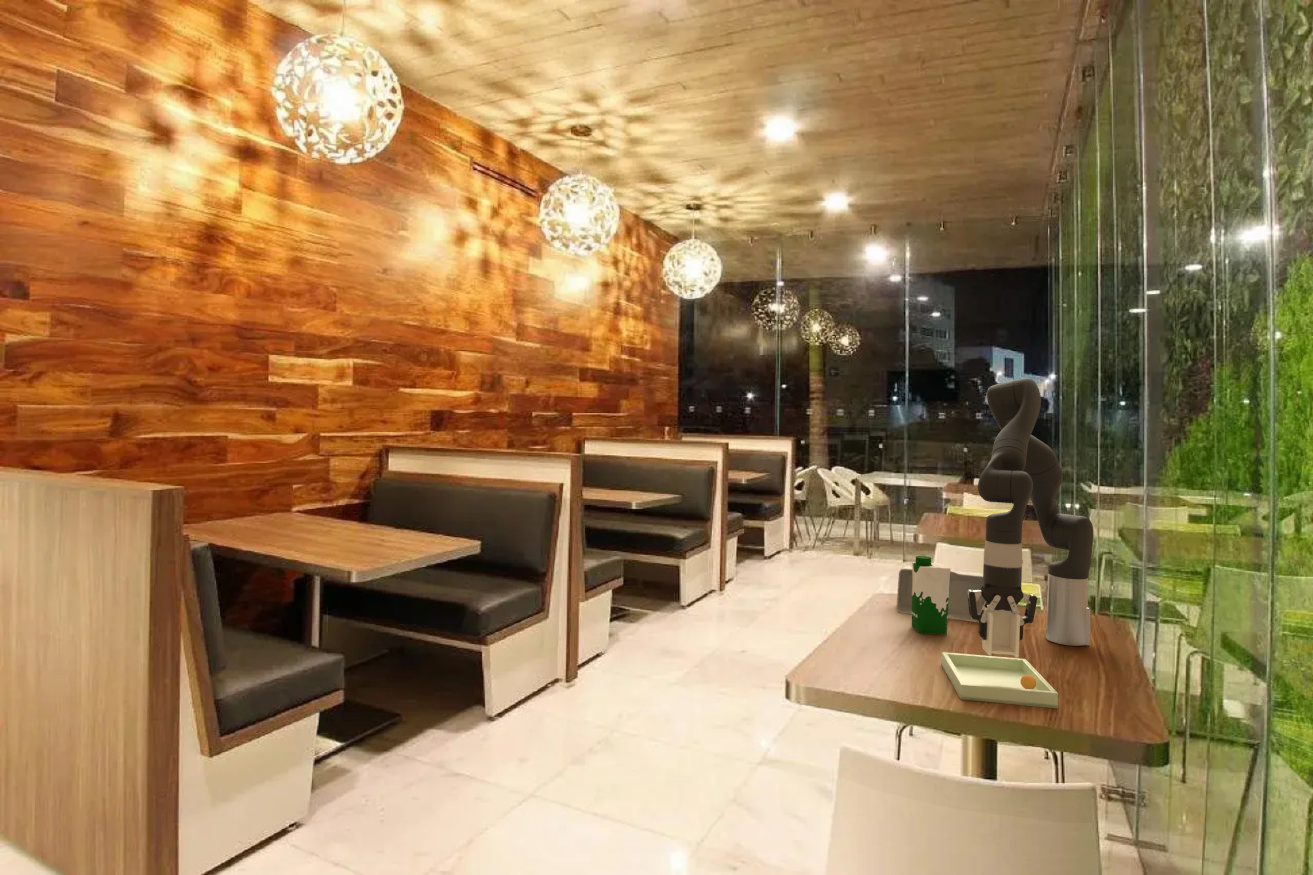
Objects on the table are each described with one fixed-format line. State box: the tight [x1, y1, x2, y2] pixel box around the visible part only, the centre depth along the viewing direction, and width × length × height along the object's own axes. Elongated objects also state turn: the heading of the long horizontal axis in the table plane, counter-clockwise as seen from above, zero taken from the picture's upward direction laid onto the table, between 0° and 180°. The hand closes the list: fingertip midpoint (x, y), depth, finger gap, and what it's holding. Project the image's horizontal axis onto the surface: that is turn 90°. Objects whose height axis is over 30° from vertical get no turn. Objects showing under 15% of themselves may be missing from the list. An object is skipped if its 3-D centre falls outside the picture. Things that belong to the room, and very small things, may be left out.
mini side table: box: [981, 608, 1020, 659], centre depth 158 cm, size 6×6×9 cm
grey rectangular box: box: [896, 565, 986, 623], centre depth 221 cm, size 25×16×12 cm, turn 66°
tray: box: [940, 651, 1059, 709], centre depth 157 cm, size 18×22×3 cm
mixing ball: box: [1020, 675, 1036, 689], centre depth 153 cm, size 3×3×3 cm
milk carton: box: [911, 555, 951, 636], centre depth 199 cm, size 9×9×20 cm
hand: (1000, 640), depth 158 cm, fingers closed on mini side table, 6 cm apart
